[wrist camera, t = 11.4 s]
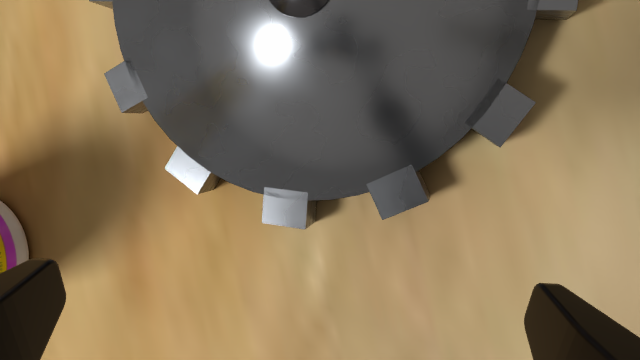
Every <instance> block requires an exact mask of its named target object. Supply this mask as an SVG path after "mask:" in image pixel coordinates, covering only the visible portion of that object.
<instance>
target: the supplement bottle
mask: <svg viewBox="0 0 640 360" xmlns="http://www.w3.org/2000/svg"><path fill="white" fill-rule="evenodd" d="M27 260H29V251H28V244H27V239H26V236H25V233H24V230H23V228H22V226H21V224H20V222H19V220H18V219H17V217H16V216H15V214H14V213H13V212H12V211H11V210H10V209H9V208H8V207H7V206H6V205H5V204H4V203H3V202H1V201H0V273H2V272H4V271H6V270H8V269H11V268H13V267H15V266H17V265H19V264H21V263H23V262H25V261H27Z"/></svg>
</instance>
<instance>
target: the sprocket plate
mask: <svg viewBox="0 0 640 360" xmlns="http://www.w3.org/2000/svg"><path fill="white" fill-rule="evenodd" d="M89 1H90V2H93V3H96V4H99V5H102V6H105V7H108V8H111V9H113V12H114V20H115V27H116V31H117V36H118V40H119V44H120V49H121V52H122V55H123V58H124V62H122V63H120V64H119V65H117V66H116V67H114V68H112V69H111V70H109V71H108V72H106V73H104V74H105V77H106V79H107V81H108V83H109V86H110V88H111V90H112V92H113V94H114V97H115V99H116V101H117V103H118V106H119V108H120V110H121V112H122V113H144V112H145V111H147V110H148V111H149V112H150V114H151V115H152V117H153V118H154V120H155V121H156V122H157V124H158V125H159V126H160V127H161V128H162V130H163V131H164V132H165V133H166V135H167V136H168V137H169V138H170V139H171V140H172V141H173V142H174V143H175V144H176V145H177V148H176V149H175V151H174V153H173V155H172V156H171V158H170V160H169V162H168V163H167V165H166V167H165V169H166V170H167V171H168V172H170V173H171V174H172V175H173V176H175V177H176V178H177V179H178V180H180V181H181V182H182V183H183V184H185V185H186V186H187V187H189V188H190V189H191V190H192V191H194V192H195V193H196V194H200V193H204V192H207V191H211V190H214V188H215V186H216V185H217V183H218V182H219V180H220V178H222V179H224V180H226V181H228V182H229V183H232V184H234V185H237V186H239V187H242V188H245V189H247V190H250V191H252V192H256V193H260V194H264V198H263V214H262V223H266V224H273V225H279V226H286V227H293V228H299V229H306V228H308V227H309V226H311V225H312V224H313V223H315V217H316V205H317V200H332V199H338V198H344V197H350V196H356V195H360V194H363V193H367V192H370V194H371V196H372V198H373V200H374V202H375V205H376V207H377V209H378V211H379V214H380V216H381V218H382V220H384V219H386V218H389V217H391V216H394V215H396V214H399V213H401V212H404V211H406V210H409V209H411V208H414V207H416V206H419V205H421V204H423V203H426V202H428V201H429V198H430V194H429V192H428V190H427V187H426V185H425V183H424V181H423V178H422V176H421V174H420V172H419V170H420V169H421V168H423V167H425V166H426V165H428V164H429V163H431V162H432V161H434V160H436V159H437V158H439V157H440V156H441V155H442V154H443V153H445V152H446V151H447V150H448V149H449V148H451V147H452V146H453V145H454V144H455V143H457V142H458V141H459V140H460V139H462V138H463V137H464V136H465V134H466V133H467V132H468V131H469V130H470V129H471V128H472V129H473V130H475V131H476V132H478V133H479V134H481V135H482V136H483V137H485V138H486V139H488V140H489V141H491V142H492V143H494V144H495V145H497V146H498V147H501V146H502V145H503V143H504V142H505V141H506V140H507V138H508V137H509V136H510V135H511V133H512V132H513V131H514V129H515V128H516V127H517V126H518V124H519V123H520V122H521V121H522V119H523V118H524V117H525V116H526V114H527V113H528V112H529V111H530V109H531V108H532V107H533V106H534V104H535V103H536V102H534V101H533V100H531V99H530V98H528V97H527V96H525V95H524V94H522V93H521V92H519V91H518V90H516V89H515V88H513V87H512V86H510V85H509V84H507V81H508V79H509V77H510V75H511V74H512V72H513V70H514V68H515V66H516V64H517V63H518V61H519V59H520V57H521V55H522V52H523V50H524V47H525V44H526V42H527V39H528V37H529V34H530V32H531V29H532V27H533V24H534V20H535V19H562V20H566V19H568V18H569V17H570V16H571V15H572V14H573V13H574V12H575V11H577V4H578V0H89Z"/></svg>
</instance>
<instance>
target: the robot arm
mask: <svg viewBox="0 0 640 360" xmlns="http://www.w3.org/2000/svg"><path fill="white" fill-rule="evenodd" d="M65 302H66V292H65V288H64V284H63V281H62V277H61V273H60V270H59V266H58V264H57V263H56V261H54V260H52V259H29V260H27V261H25V262H23V263H21V264H19V265H17V266H15V267H13V268H11V269H8V270H6V271H4V272H2V273H0V360H40V359H41V357H42V355H43V352H44V350H45V348H46V346H47V344H48V341H49V339H50V337H51V335H52V332H53V330H54V328H55V326H56V324H57V321H58V319H59V317H60V315H61V312H62V310H63V308H64V305H65ZM524 325H525V331H526V334H527V338H528V342H529V345H530V349H531V353H532V356H533V360H640V338H639V337H638V336H636V335H635V334H633V333H632V332H631V331H629V330H628V329H626V328H625V327H623V326H622V325H620V324H619V323H617V322H616V321H614V320H613V319H611V318H610V317H608V316H607V315H605V314H604V313H602V312H601V311H599V310H598V309H596V308H595V307H593V306H592V305H590V304H589V303H587V302H586V301H584V300H583V299H581V298H580V297H578V296H577V295H576V294H574V293H573V292H571V291H570V290H568V289H567V288H565V287H564V286H562V285H560V284H550V283H539V284H537V285H536V286H535V287H534V289H533V292H532V295H531V298H530V301H529V304H528V307H527V310H526V313H525V318H524Z"/></svg>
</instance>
